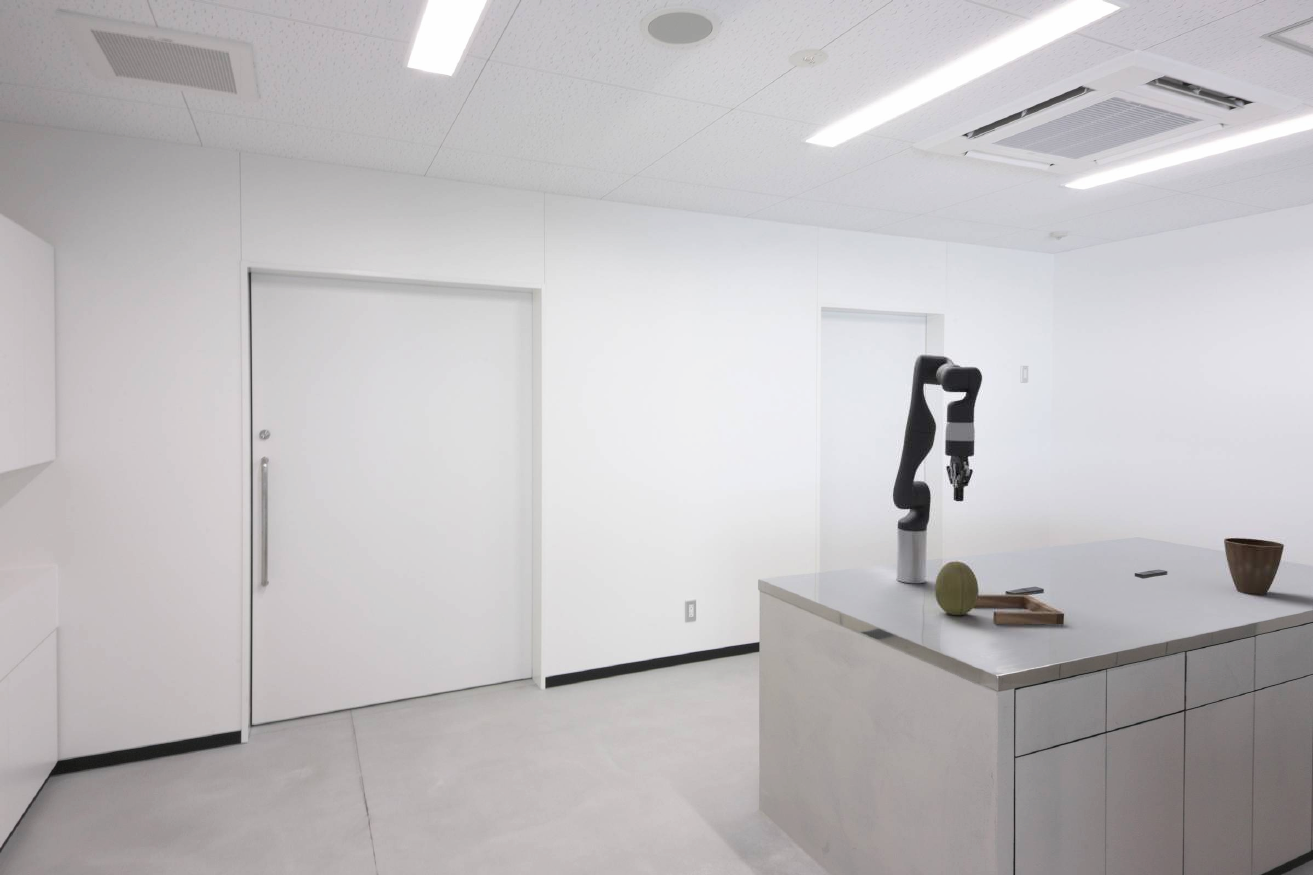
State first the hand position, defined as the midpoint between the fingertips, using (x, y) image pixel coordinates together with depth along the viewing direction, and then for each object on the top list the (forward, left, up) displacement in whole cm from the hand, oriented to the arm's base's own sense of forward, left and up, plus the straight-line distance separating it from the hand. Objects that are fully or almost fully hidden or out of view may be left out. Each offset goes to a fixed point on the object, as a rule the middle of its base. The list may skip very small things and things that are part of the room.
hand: (958, 500), depth 212 cm
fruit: (0, 0, -32) cm, 32 cm away
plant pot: (-26, +104, -32) cm, 112 cm away
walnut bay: (0, +15, -32) cm, 35 cm away
